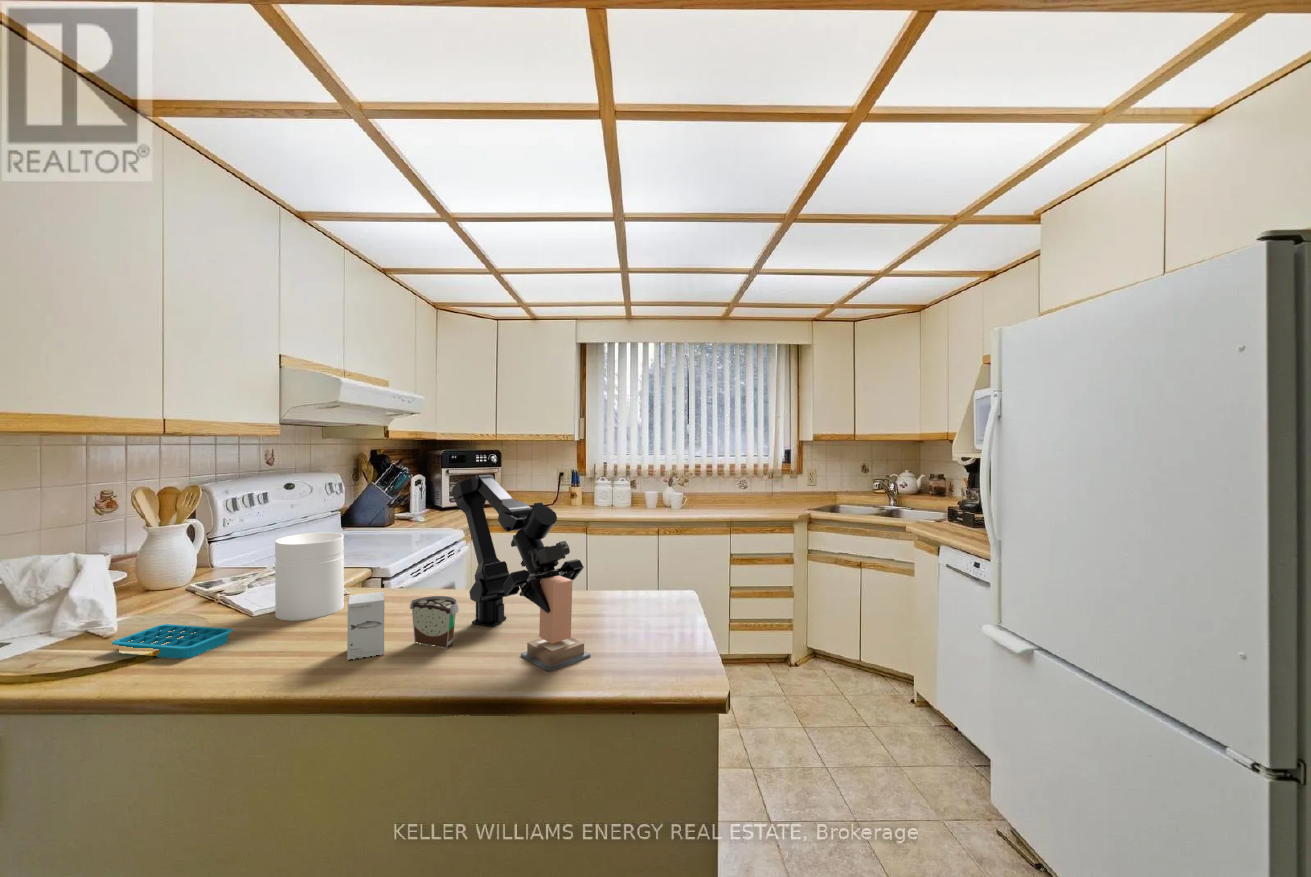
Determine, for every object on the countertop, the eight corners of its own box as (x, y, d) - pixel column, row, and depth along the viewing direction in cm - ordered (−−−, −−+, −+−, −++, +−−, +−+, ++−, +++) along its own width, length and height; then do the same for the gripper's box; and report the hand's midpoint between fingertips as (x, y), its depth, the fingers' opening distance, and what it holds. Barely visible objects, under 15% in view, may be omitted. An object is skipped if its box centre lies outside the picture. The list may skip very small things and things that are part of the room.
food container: (469, 640, 130) (470, 598, 130) (452, 649, 125) (452, 606, 124) (428, 633, 134) (428, 593, 134) (409, 642, 129) (409, 600, 128)
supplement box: (346, 662, 118) (346, 604, 117) (348, 649, 124) (348, 594, 124) (384, 655, 121) (384, 599, 121) (384, 643, 128) (384, 590, 127)
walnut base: (520, 655, 122) (520, 642, 122) (561, 642, 129) (561, 629, 129) (548, 672, 114) (548, 657, 114) (590, 656, 122) (590, 642, 122)
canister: (355, 607, 152) (355, 536, 152) (292, 625, 139) (292, 547, 138) (326, 597, 161) (325, 530, 160) (264, 613, 147) (263, 539, 147)
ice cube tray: (162, 636, 132) (162, 623, 132) (236, 641, 129) (236, 629, 129) (108, 656, 120) (108, 642, 120) (187, 662, 117) (187, 648, 117)
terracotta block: (539, 636, 122) (540, 579, 121) (558, 631, 125) (559, 575, 125) (551, 643, 118) (553, 584, 118) (570, 638, 121) (572, 580, 121)
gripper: (509, 536, 117) (537, 599, 110) (579, 525, 130) (608, 581, 123) (491, 565, 123) (516, 627, 115) (560, 552, 136) (586, 607, 129)
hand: (559, 609), depth 120 cm, fingers closed on terracotta block, 5 cm apart
